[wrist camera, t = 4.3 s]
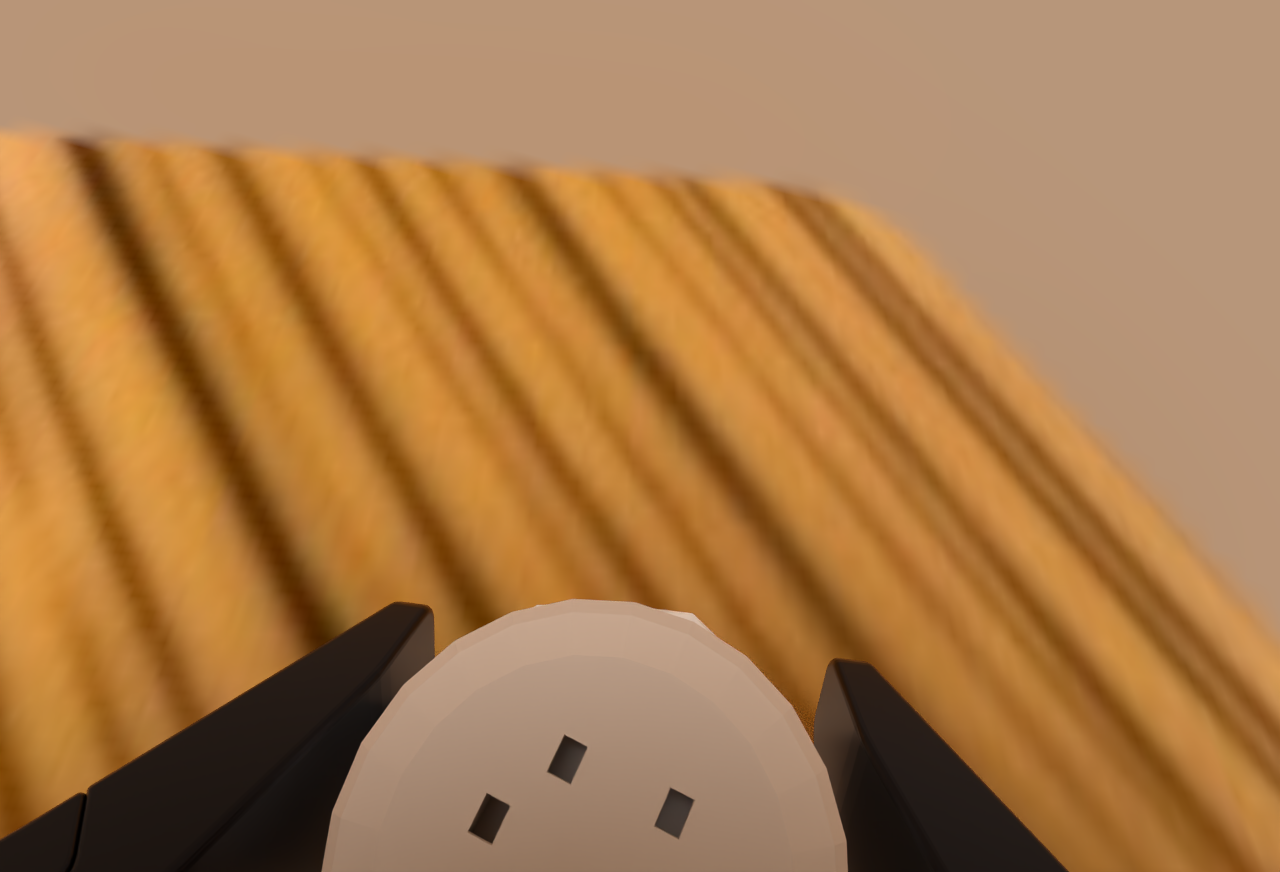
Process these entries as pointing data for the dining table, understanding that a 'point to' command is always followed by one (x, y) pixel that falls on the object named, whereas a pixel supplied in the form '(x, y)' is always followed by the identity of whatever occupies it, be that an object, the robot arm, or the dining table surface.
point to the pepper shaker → (587, 756)
